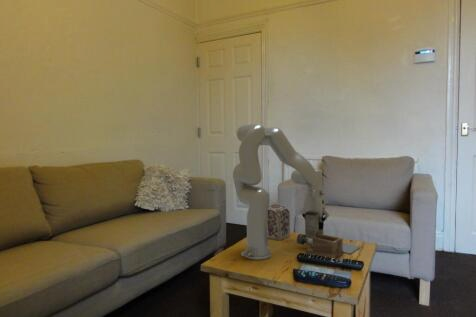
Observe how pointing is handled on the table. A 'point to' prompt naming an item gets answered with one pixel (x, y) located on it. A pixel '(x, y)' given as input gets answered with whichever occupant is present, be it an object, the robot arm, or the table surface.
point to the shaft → (304, 239)
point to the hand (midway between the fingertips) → (314, 228)
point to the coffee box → (312, 225)
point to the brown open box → (326, 246)
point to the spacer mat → (349, 248)
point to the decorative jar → (278, 222)
